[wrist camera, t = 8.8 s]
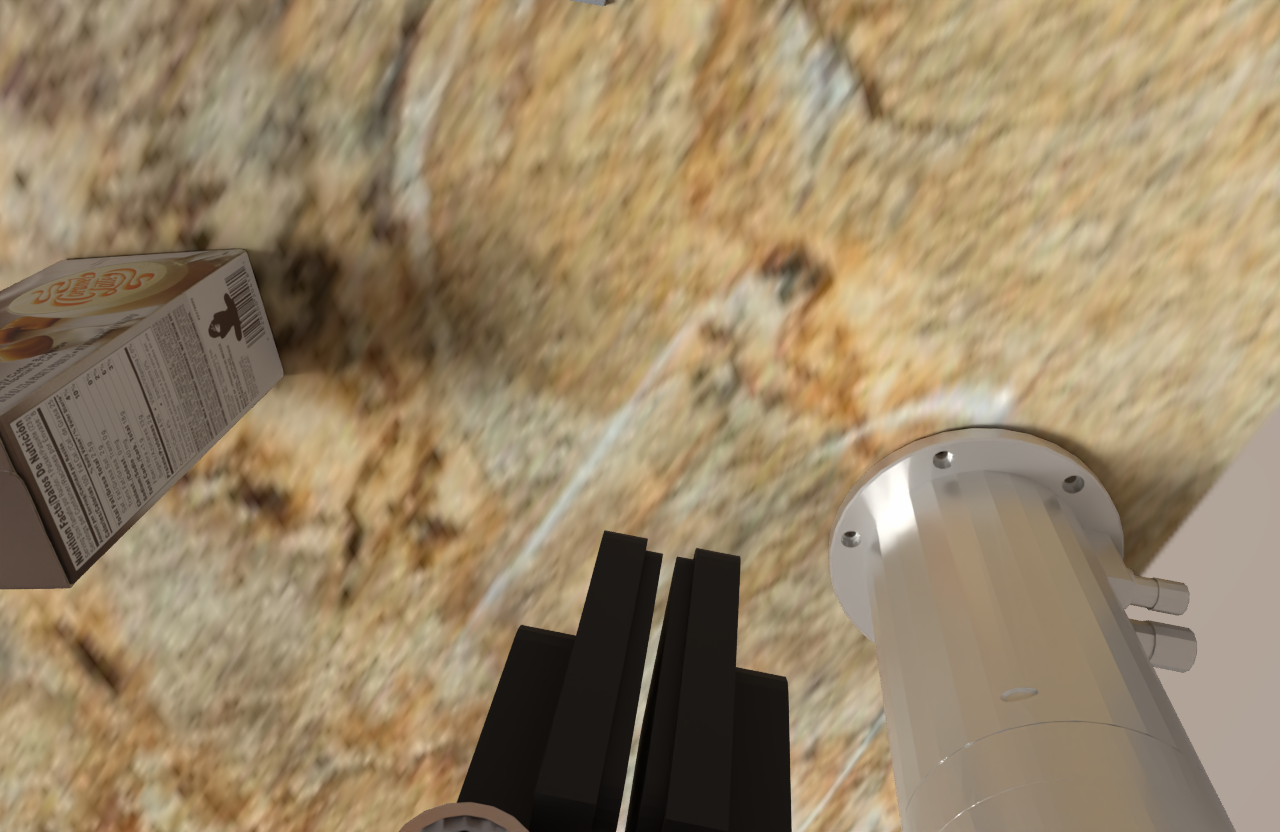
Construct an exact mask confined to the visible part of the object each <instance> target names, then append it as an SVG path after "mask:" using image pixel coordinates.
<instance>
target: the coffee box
mask: <svg viewBox="0 0 1280 832" xmlns="http://www.w3.org/2000/svg"><path fill="white" fill-rule="evenodd" d="M283 376H284V375H283V368H282V364H281V361H280V358H279V355H278V352H277V349H276V345H275V342H274V339H273V335H272V332H271V329H270V325H269V322H268V319H267V316H266V312H265V309H264V306H263V302H262V299H261V296H260V293H259V290H258V287H257V283H256V280H255V277H254V274H253V270H252V267H251V264H250V260H249V257H248V254H247V252H246V251H245V250H242V249H231V250H210V251H196V252H180V253H165V254H150V255H134V256H119V257H105V258H90V259H76V260H61V261H59V262H57V263H55V264H53V265H51V266H49V267H47V268H45V269H43V270H42V271H40V272H38V273H36V274H34V275H32V276H30V277H28V278H26V279H24V280H21V281H20V282H18V283H15V284H13V285H12V286H10V287H8V288H6V289H4V290H2V291H0V589H54V588H71V587H72V586H73V585H74V584H75V582H76V581H77V580H78V579H79V578H80V577H81V576H82V575H83V574H84V573H85V572H86V571H87V570H88V569H89V568H90V567H91V566H92V565H93V564H94V563H95V562H96V561H97V560H98V559H99V558H100V557H101V556H103V555H104V554H105V553H106V552H107V551H108V550H109V549H110V548H111V547H112V546H113V545H114V544H115V543H116V542H117V541H118V540H119V539H120V538H121V537H122V536H123V535H124V534H125V533H126V532H127V531H128V530H129V529H130V528H131V527H132V526H133V525H134V524H135V523H136V522H137V521H138V520H139V519H140V518H141V517H142V516H143V515H144V514H145V513H146V512H147V511H148V510H149V509H150V508H151V507H152V506H153V505H154V504H155V503H156V502H157V501H158V500H159V499H160V498H161V497H162V496H163V495H164V494H165V493H166V492H167V491H168V490H169V489H170V488H171V487H172V486H173V485H174V484H175V483H177V482H178V481H179V480H180V479H181V477H182V476H183V475H184V474H185V473H186V472H187V471H189V470H190V469H191V468H192V467H193V466H194V465H195V464H196V463H197V462H198V461H199V460H200V459H201V458H202V457H203V456H204V455H205V454H206V453H207V452H208V451H209V450H210V449H211V448H212V447H213V446H214V445H215V444H216V443H217V442H218V441H219V440H220V439H221V438H222V437H223V436H224V435H225V434H226V433H227V432H228V431H229V430H230V429H231V428H232V427H233V426H234V425H235V424H236V423H237V422H238V421H239V420H240V419H241V418H242V417H243V416H244V415H245V414H246V413H247V412H248V411H249V410H250V409H251V408H253V406H254V405H255V404H256V403H257V402H258V401H259V400H260V399H261V398H262V397H263V396H264V395H265V394H267V393H268V392H269V391H270V390H271V389H272V388H273V387H274V386H275V385H276V384H277V383H278V382H279V381H280V380H281V379H282V377H283Z"/></svg>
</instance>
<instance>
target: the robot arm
mask: <svg viewBox="0 0 1280 832" xmlns="http://www.w3.org/2000/svg"><path fill="white" fill-rule="evenodd" d="M940 451H945V452H944V453H942V454H937V453H939V452H940ZM1070 476H1071V477H1070ZM1068 477H1069V478H1068ZM848 531H852V532H848ZM647 541H648V539H647V538H641V537H636V536H631V535H626V534H621V533H616V532H610V531H604V534H603V537H602V541H601V545H600V548H599V552H598V556H597V560H596V563H595V567H594V571H593V575H592V578H591V582H590V586H589V590H588V593H587V597H586V601H585V604H584V608H583V612H582V616H581V619H580V623H579V627H578V631H577V634H576V636H575V635H570V634H565V633H560V632H555V631H550V630H544V629H539V628H534V627H529V626H524V625H521V626H520V627H519V628H518V631H517V633H516V636H515V638H514V641H513V644H512V647H511V650H510V652H509V655H508V658H507V661H506V664H505V667H504V670H503V672H502V675H501V678H500V681H499V684H498V687H497V690H496V692H495V695H494V698H493V701H492V704H491V707H490V710H489V712H488V715H487V718H486V721H485V724H484V727H483V729H482V732H481V735H480V738H479V741H478V744H477V747H476V749H475V752H474V755H473V758H472V761H471V764H470V767H469V769H468V772H467V775H466V778H465V781H464V784H463V787H462V789H461V792H460V795H459V798H458V801H457V803H449V804H444V805H441V806H438V807H435V808H432V809H429V810H426V811H424V812H422V813H421V814H419V815H418V816H416V817H415V818H413V819H412V820H410V821H409V822H407V823H406V824H405V825H404V826H403V827H402V828H401V829H400V831H399V832H616V829H617V824H618V818H619V813H620V808H621V802H622V797H623V791H624V785H625V779H626V773H627V767H628V761H629V755H630V749H631V743H632V737H633V731H634V725H635V719H636V713H637V707H638V701H639V695H640V689H641V683H642V677H643V671H644V665H645V659H646V653H647V647H648V641H649V635H650V629H651V623H652V617H653V611H654V605H655V599H656V593H657V587H658V581H659V575H660V569H661V563H662V557H663V554H661V553H656V552H651V551H646V546H647ZM828 554H829V567H830V576H831V580H832V584H833V588H834V592H835V595H836V597H837V599H838V601H839V603H840V605H841V607H842V609H843V611H844V613H845V614H846V615H847V617H848V618H849V619H850V620H851V622H852V623H853V624H854V625H855V627H856V628H857V629H858V630H859V631H860V632H861V633H862V634H863V635H865V636H866V637H867V638H868V639H869V640H870V641H871V642H873V643H874V644H875V646H876V653H877V660H878V667H879V674H880V681H881V688H882V695H883V702H884V709H885V716H886V723H887V730H888V737H889V744H890V751H891V758H892V765H893V772H894V779H895V786H896V793H897V801H898V808H899V815H900V822H901V829H902V832H1236V830H1235V829H1234V827H1233V825H1232V823H1231V821H1230V819H1229V817H1228V815H1227V813H1226V811H1225V809H1224V807H1223V805H1222V803H1221V801H1220V799H1219V797H1218V795H1217V793H1216V791H1215V789H1214V787H1213V785H1212V783H1211V781H1210V780H1209V777H1208V775H1207V773H1206V772H1205V770H1204V767H1203V765H1202V764H1201V761H1200V760H1199V758H1198V756H1197V754H1196V752H1195V750H1194V748H1193V746H1192V744H1191V742H1190V740H1189V738H1188V736H1187V734H1186V732H1185V730H1184V728H1183V726H1182V724H1181V722H1180V720H1179V718H1178V716H1177V714H1176V712H1175V710H1174V708H1173V706H1172V704H1171V702H1170V700H1169V698H1168V696H1167V694H1166V692H1165V690H1164V688H1163V686H1162V684H1161V682H1160V680H1159V678H1158V676H1157V674H1156V672H1155V670H1154V668H1153V667H1157V668H1162V669H1167V670H1172V671H1177V672H1186V671H1189V670H1190V668H1191V667H1192V665H1193V664H1194V661H1195V658H1196V654H1197V641H1196V638H1195V635H1194V633H1193V632H1192V631H1191V630H1190V629H1189V628H1185V627H1180V626H1174V625H1169V624H1164V623H1159V622H1154V621H1138V620H1133V619H1129V618H1128V617H1127V615H1126V613H1125V611H1124V609H1126V608H1127V607H1128V606H1129V605H1134V606H1140V607H1145V608H1147V609H1148V610H1152V611H1157V612H1163V613H1168V614H1173V615H1182V614H1183V613H1184V612H1185V611H1186V609H1187V607H1188V604H1189V591H1188V587H1187V586H1186V585H1185V584H1184V583H1180V582H1174V581H1169V580H1164V579H1159V578H1145V577H1140V576H1135V575H1134V573H1133V571H1132V570H1131V569H1129V568H1126V566H1125V564H1124V562H1123V557H1124V535H1123V530H1122V526H1121V521H1120V516H1119V514H1118V512H1117V510H1116V508H1115V506H1114V504H1113V502H1112V500H1111V498H1110V496H1109V494H1108V492H1107V491H1106V489H1105V488H1104V486H1103V485H1102V483H1101V482H1100V480H1099V479H1098V477H1097V476H1096V475H1095V474H1094V473H1093V472H1092V471H1091V470H1090V469H1089V468H1088V467H1087V466H1086V465H1085V464H1084V463H1083V462H1082V461H1081V460H1080V459H1079V458H1078V457H1076V456H1074V455H1073V454H1071V453H1069V452H1068V451H1066V450H1065V449H1063V448H1061V447H1060V446H1058V445H1056V444H1054V443H1052V442H1049V441H1047V440H1044V439H1041V438H1039V437H1036V436H1033V435H1031V434H1027V433H1021V432H1016V431H1010V430H1005V429H986V428H970V429H963V430H956V431H949V432H943V433H939V434H936V435H933V436H930V437H927V438H923V439H920V440H917V441H914V442H912V443H910V444H908V445H906V446H904V447H902V448H900V449H898V450H896V451H894V452H892V453H890V454H889V455H888V456H886V457H885V458H883V459H882V460H881V461H879V462H878V463H877V464H875V465H874V466H873V467H871V468H870V469H869V470H868V471H867V472H866V473H865V474H864V475H863V476H862V477H861V478H860V479H859V480H858V481H857V482H856V483H855V485H854V486H853V487H852V488H851V489H850V491H849V492H848V494H847V496H846V497H845V499H844V500H843V502H842V504H841V505H840V507H839V509H838V511H837V514H836V517H835V520H834V522H833V525H832V528H831V532H830V541H829V550H828ZM739 585H740V556H735V555H730V554H724V553H719V552H714V551H709V550H704V549H699V548H696V550H695V554H694V558H693V560H692V559H687V558H682V557H677V558H676V562H675V567H674V572H673V577H672V582H671V587H670V591H669V596H668V601H667V606H666V611H665V616H664V621H663V626H662V630H661V635H660V640H659V645H658V650H657V655H656V660H655V665H654V669H653V674H652V679H651V684H650V689H649V694H648V699H647V704H646V708H645V713H644V718H643V723H642V729H641V734H640V740H639V746H638V752H637V759H636V765H635V771H634V778H633V784H632V790H631V797H630V803H629V809H628V816H627V822H626V828H625V832H792V828H791V784H790V741H789V697H788V682H787V679H786V677H783V676H778V675H773V674H768V673H763V672H758V671H753V670H748V669H743V668H738V667H736V651H737V629H738V607H739Z"/></svg>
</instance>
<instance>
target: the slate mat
mask: <svg viewBox="0 0 1280 832" xmlns="http://www.w3.org/2000/svg"><path fill="white" fill-rule="evenodd" d="M572 1H578V2H584V3H590V4H595V5H601V6H605V5H606V0H572Z"/></svg>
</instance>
